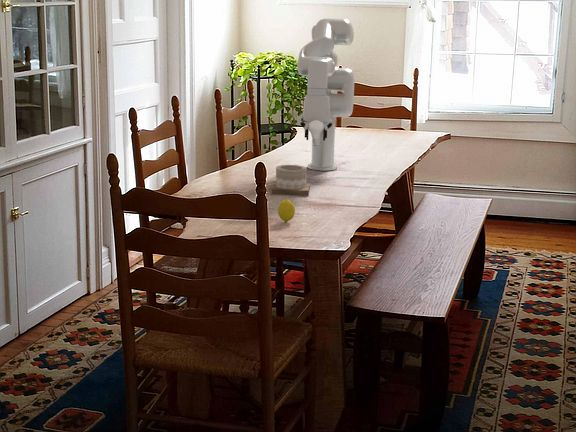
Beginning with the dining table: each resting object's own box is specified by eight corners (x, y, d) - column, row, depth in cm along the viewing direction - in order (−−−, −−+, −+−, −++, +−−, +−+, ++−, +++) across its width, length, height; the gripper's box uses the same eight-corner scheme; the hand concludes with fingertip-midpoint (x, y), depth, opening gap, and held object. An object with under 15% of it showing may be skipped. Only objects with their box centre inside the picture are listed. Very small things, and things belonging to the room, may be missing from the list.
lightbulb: (310, 147, 350) (311, 118, 348) (305, 144, 356) (305, 116, 353) (326, 147, 352) (327, 118, 349) (320, 144, 358) (321, 115, 355)
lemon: (294, 220, 311) (294, 197, 309) (294, 224, 305) (295, 201, 303) (277, 220, 310) (278, 197, 308) (277, 224, 305) (278, 201, 303)
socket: (273, 186, 358) (274, 163, 356) (309, 187, 358) (310, 164, 355) (270, 194, 345) (271, 171, 343) (308, 196, 344) (309, 172, 342)
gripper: (339, 91, 352) (338, 138, 357) (294, 90, 353) (293, 137, 357) (340, 94, 345) (338, 142, 350) (294, 92, 346) (292, 140, 350)
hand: (315, 139), depth 354 cm, fingers closed on lightbulb, 5 cm apart
